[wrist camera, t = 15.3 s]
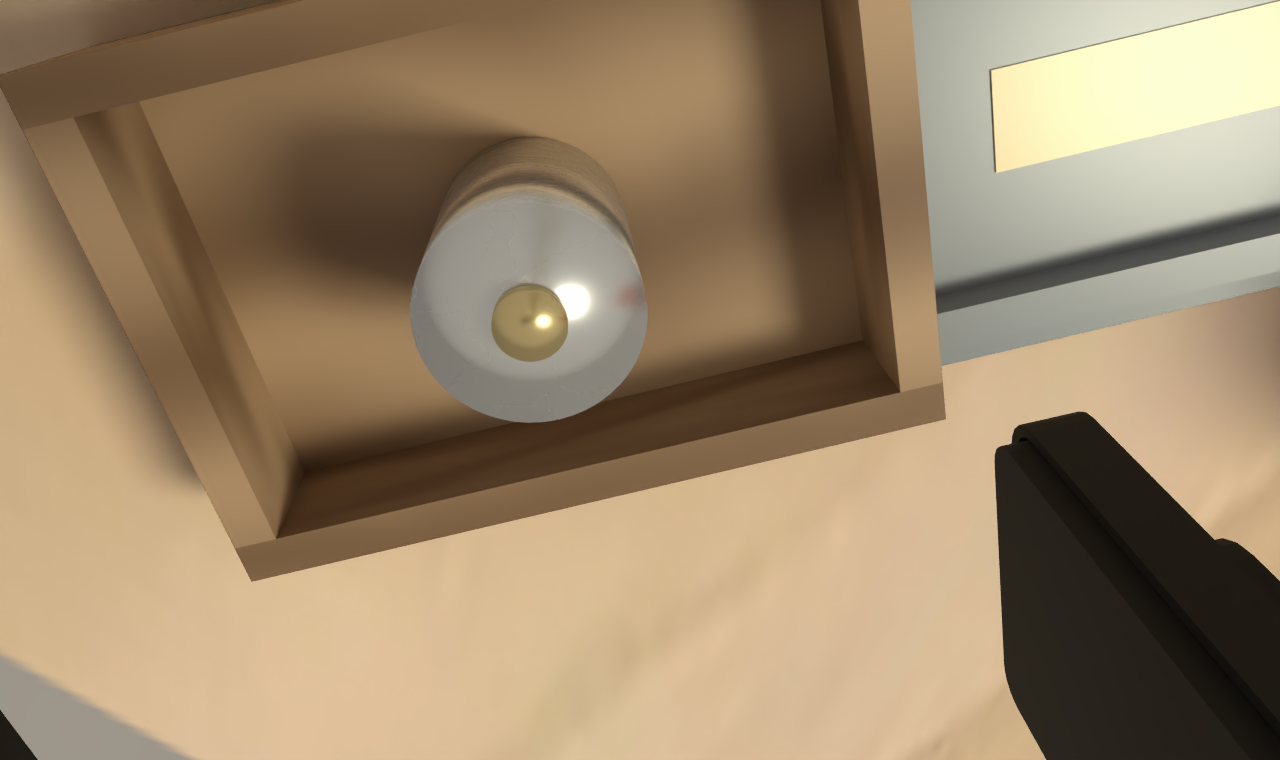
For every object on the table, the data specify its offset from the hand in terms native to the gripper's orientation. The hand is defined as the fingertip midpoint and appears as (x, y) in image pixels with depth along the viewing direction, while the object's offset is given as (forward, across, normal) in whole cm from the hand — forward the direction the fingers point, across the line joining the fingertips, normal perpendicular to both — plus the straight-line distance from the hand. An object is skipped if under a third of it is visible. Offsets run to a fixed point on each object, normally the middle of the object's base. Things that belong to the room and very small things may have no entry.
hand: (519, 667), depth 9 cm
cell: (+16, 0, +1) cm, 16 cm away
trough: (+16, 0, +1) cm, 17 cm away
